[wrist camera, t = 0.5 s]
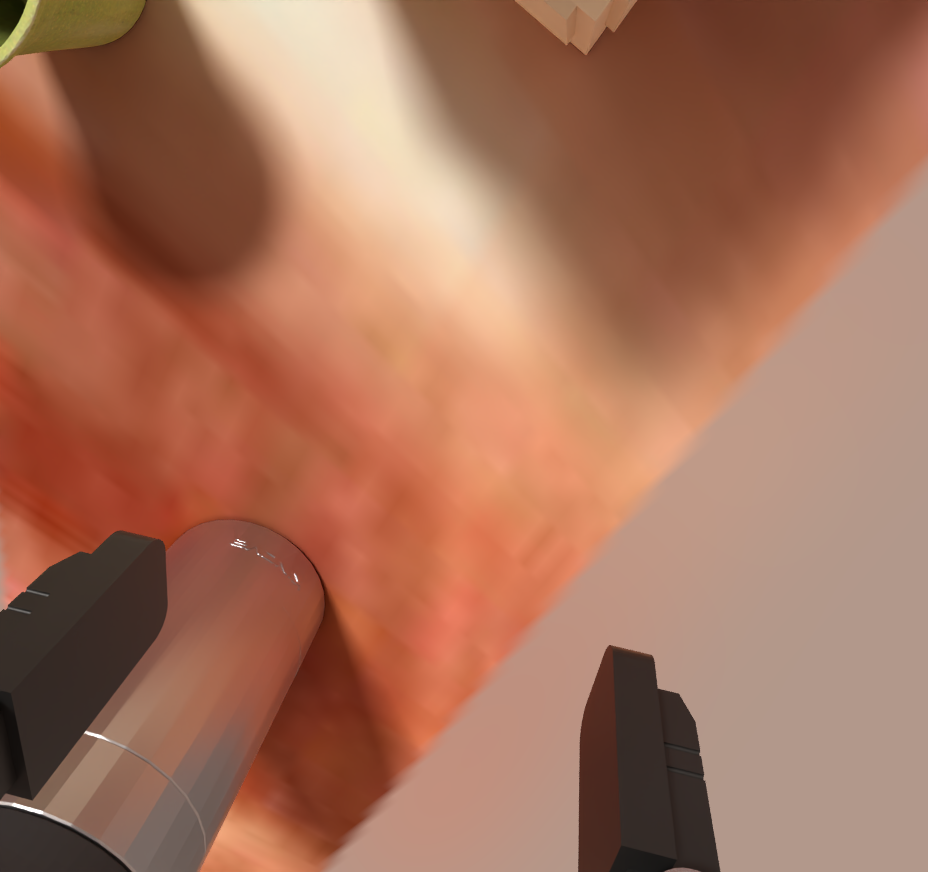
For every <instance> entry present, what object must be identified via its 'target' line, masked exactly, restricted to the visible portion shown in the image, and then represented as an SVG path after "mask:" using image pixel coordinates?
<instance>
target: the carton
mask: <svg viewBox="0 0 928 872" xmlns="http://www.w3.org/2000/svg"><path fill="white" fill-rule="evenodd" d="M514 1H516V2H517V3H518V4H519V5H520V6H521V7H522V8H524V9H525V10H526V11H527V12H528V13H529V14H531V15H532V16H533V17H534V18H535V19H536V20H538V21H539V22H540V23H541V24H542V25H543V26H544V27H546V28H547V29H548V30H549V31H550V32H551V33H553V34H554V35H555V36H556V37H557V38H558V39H559V40H561V41H562V42H563V43H564V44H565V45H566V46H567V45H568V43H569V42H571V43H572V44H573V45H574V46H575V47H577V48H578V49H579V50H580V51H581V52H582V53H584V54H585V55H587V54H588V52H589V51H590V49H591V48H592V47H593V45H594V44H595V43H596V41H597V40H598V38H599V37H600V36H601V34H602V33H603V31H604V30H605V29H606V27H608V28H609V29H611V30H612V31H613V32H615V30H616V29H617V28H618V26H619V25H620V24H621V22H622V21H623V19H624V18H625V17H626V15H627V14H628V13H629V11H630V10H631V8H632V7H633V6H634V4H635V3H636V2H637V0H514Z"/></svg>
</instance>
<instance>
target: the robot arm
mask: <svg viewBox="0 0 928 872" xmlns="http://www.w3.org/2000/svg"><path fill="white" fill-rule="evenodd" d="M324 609H325V601H324V591H323V588H322V585H321V582H320V579H319V576H318V575H317V573H316V571H315V569H314V568H313V566H312V564H311V563H310V561H309V560H308V559H307V558H306V557H305V556H304V555H303V553H302V552H301V551H300V550H299V549H298V548H297V547H295V546H294V545H293V544H292V543H291V542H289V541H288V540H287V539H286V538H284V537H282V536H281V535H279V534H277V533H275V532H273V531H272V530H270V529H268V528H265V527H262V526H259V525H256V524H254V523H250V522H244V521H238V520H215V521H211V522H206V523H202V524H200V525H198V526H196V527H194V528H192V529H190V530H188V531H187V532H185V533H184V534H183V535H182V536H181V537H180V538H179V539H177V540H176V541H175V543H174V544H173V545H172V546H171V547H170V548H169V549H168V550H167V551H166V552H165V545H164V543H163V541H161V540H159V539H155V538H151V537H147V536H142V535H138V534H134V533H130V532H126V531H116V532H115V533H113V534H112V535H111V536H110V537H108V538H107V539H106V540H105V541H104V542H103V543H102V544H101V545H100V546H99V547H98V548H97V549H96V550H95V551H94V552H93V553H92V554H89V553H85V552H78V553H76V554H74V555H72V556H70V557H68V558H66V559H64V560H62V561H60V562H58V563H56V564H54V565H52V566H50V567H49V568H48V569H47V570H46V571H45V572H44V573H42V574H41V575H40V576H39V577H38V578H37V579H36V580H35V581H34V582H33V583H32V584H30V585H29V586H28V587H27V590H26V592H22V593H21V594H20V595H18V596H17V597H16V598H15V599H14V600H13V601H12V602H11V603H10V604H9V605H8V608H7V609H6V610H4V609H3V610H2V611H1V612H0V872H200V870H201V867H202V865H203V863H204V861H205V859H206V857H207V855H208V853H209V851H210V849H211V847H212V845H213V842H214V840H215V838H216V836H217V834H218V832H219V830H220V828H221V826H222V824H223V822H224V820H225V818H226V816H227V814H228V812H229V810H230V808H231V806H232V804H233V802H234V800H235V798H236V796H237V794H238V792H239V790H240V788H241V786H242V783H243V781H244V779H245V777H246V775H247V773H248V771H249V769H250V767H251V765H252V763H253V761H254V759H255V757H256V755H257V753H258V751H259V749H260V747H261V745H262V743H263V741H264V739H265V737H266V735H267V733H268V731H269V729H270V727H271V725H272V722H273V720H274V718H275V716H276V714H277V712H278V710H279V708H280V706H281V704H282V702H283V700H284V698H285V696H286V694H287V692H288V690H289V688H290V686H291V684H292V682H293V680H294V678H295V676H296V674H297V672H298V670H299V668H300V666H301V664H302V662H303V660H304V658H305V656H306V653H307V651H308V649H309V647H310V645H311V643H312V641H313V639H314V637H315V635H316V633H317V631H318V629H319V626H320V624H321V622H322V620H323V615H324ZM699 753H700V747H699V741H698V735H697V730H696V723H695V720H694V719H693V717H692V715H691V714H690V712H689V710H688V709H687V707H686V705H685V704H684V702H683V700H682V698H681V697H680V695H679V694H678V693H674V692H669V691H665V690H661V689H658V688H657V679H656V671H655V662H654V658H653V656H652V655H649V654H644V653H641V652H637V651H633V650H628V649H624V648H620V647H616V646H611V645H609V646H608V647H607V649H606V651H605V653H604V656H603V659H602V662H601V664H600V668H599V670H598V673H597V676H596V678H595V681H594V684H593V687H592V690H591V692H590V695H589V698H588V701H587V704H586V707H585V711H584V715H583V720H582V726H581V734H580V772H579V777H580V778H579V859H578V861H579V862H578V865H579V866H578V872H720V867H719V861H718V856H717V850H716V843H715V837H714V831H713V825H712V819H711V813H710V807H709V801H708V796H707V789H706V783H705V781H704V780H703V777H704V772H703V766H702V759H701V756H699Z"/></svg>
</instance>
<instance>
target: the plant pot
mask: <svg viewBox="0 0 928 872" xmlns="http://www.w3.org/2000/svg"><path fill="white" fill-rule="evenodd" d="M145 2H146V0H0V68H1V67H2V66H4V65H5V64H7V63H8V62H9V61H10V60H11V59H12V58H13V57H15V56H17V55H24V54H32V53H39V52H47V51H55V50H65V49H75V48H85V47H93V46H99V45H104V44H107V43H110V42H113V41H115V40H117V39H119V38H120V37H122V36H123V35H124V34H125V33H127V32H128V31H129V30H130V29H131V28H132V27H133V25H134V24H135V23H136V21H137V20H138V18H139V17H140V15H141V13H142V10H143V8H144V5H145Z"/></svg>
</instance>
